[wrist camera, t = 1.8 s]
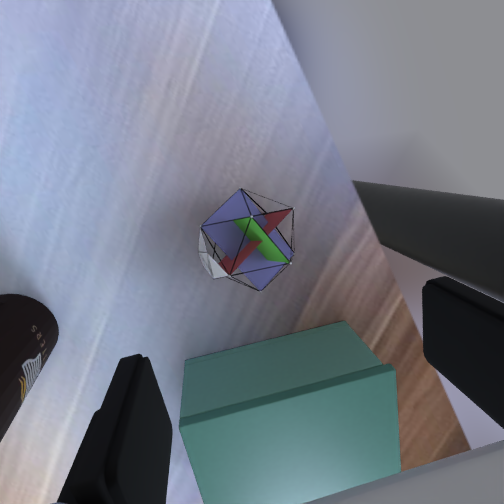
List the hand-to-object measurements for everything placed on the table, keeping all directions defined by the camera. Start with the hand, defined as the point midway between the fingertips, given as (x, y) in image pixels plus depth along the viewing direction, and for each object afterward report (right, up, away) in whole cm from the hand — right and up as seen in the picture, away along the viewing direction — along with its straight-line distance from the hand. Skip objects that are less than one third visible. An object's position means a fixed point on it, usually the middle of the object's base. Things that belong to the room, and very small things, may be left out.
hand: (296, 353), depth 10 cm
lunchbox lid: (+2, -13, +15) cm, 19 cm away
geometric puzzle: (-2, +5, +16) cm, 17 cm away
